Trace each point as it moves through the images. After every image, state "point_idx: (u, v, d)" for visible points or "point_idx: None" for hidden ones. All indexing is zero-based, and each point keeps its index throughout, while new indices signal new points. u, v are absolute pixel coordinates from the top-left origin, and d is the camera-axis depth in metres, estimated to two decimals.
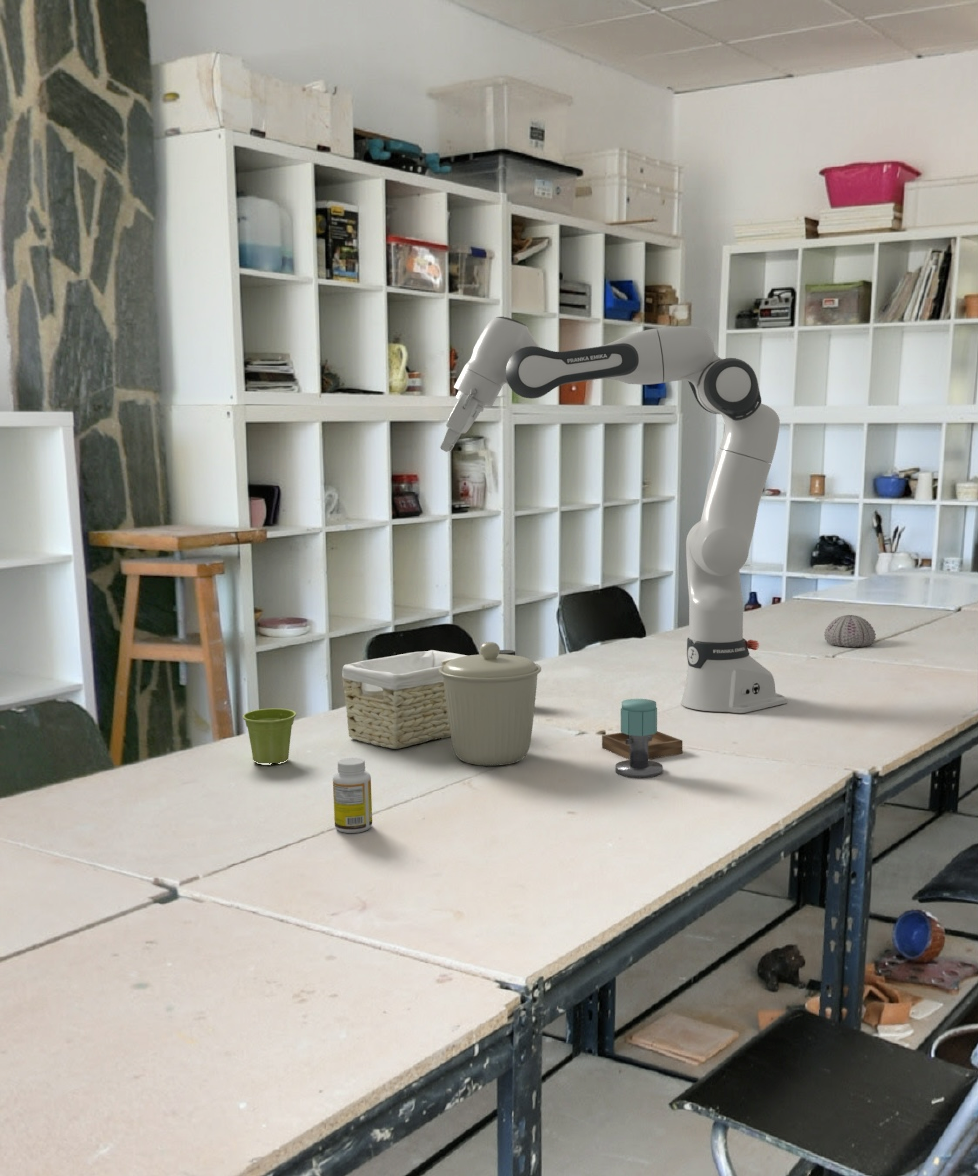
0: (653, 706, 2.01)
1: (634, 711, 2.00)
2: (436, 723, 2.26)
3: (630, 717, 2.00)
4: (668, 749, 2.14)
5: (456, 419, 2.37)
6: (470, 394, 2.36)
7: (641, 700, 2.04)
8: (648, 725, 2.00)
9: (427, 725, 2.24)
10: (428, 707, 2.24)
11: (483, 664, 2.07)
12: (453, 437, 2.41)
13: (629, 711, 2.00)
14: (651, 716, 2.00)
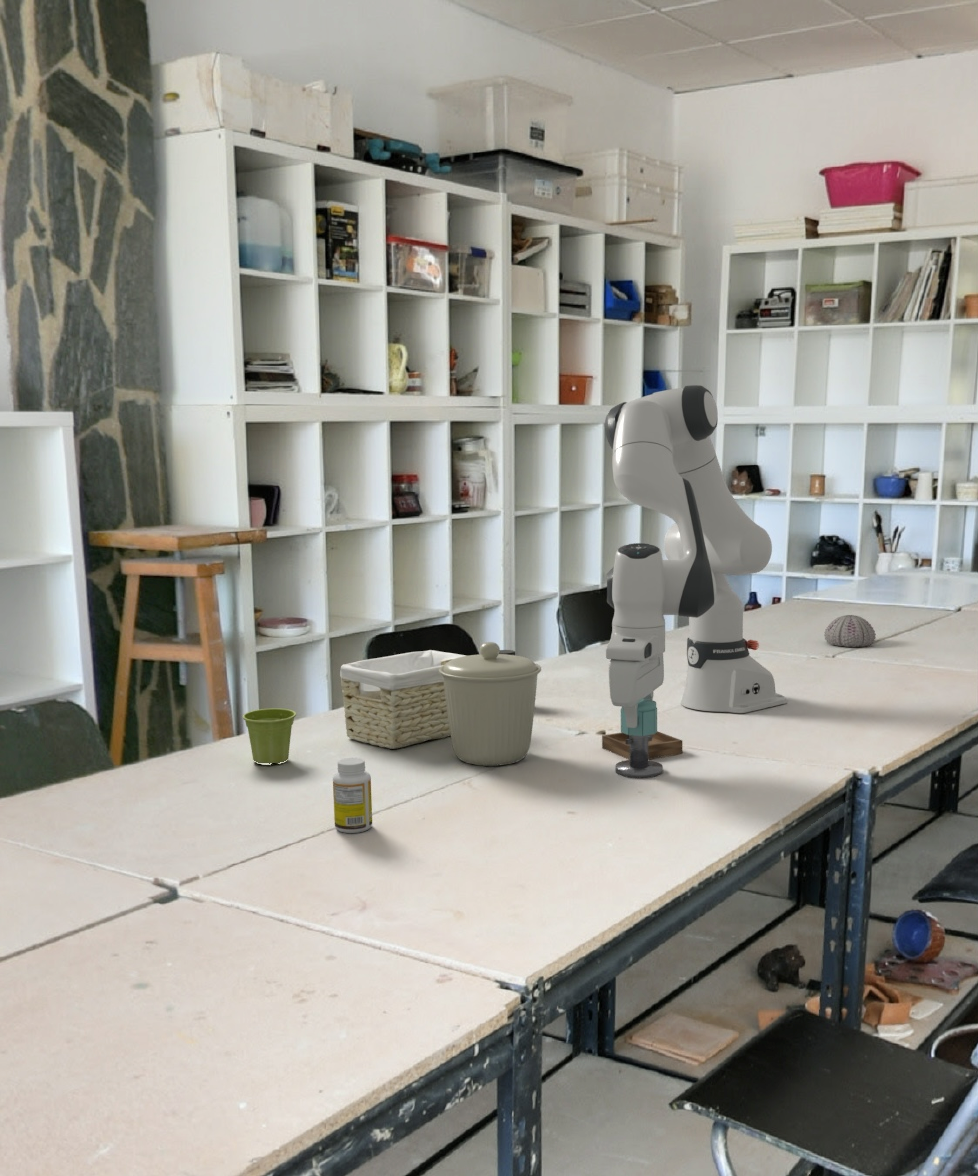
0: (653, 706, 2.01)
1: None
2: (434, 723, 2.26)
3: None
4: (668, 749, 2.14)
5: None
6: None
7: (641, 700, 2.04)
8: (648, 725, 2.00)
9: (425, 725, 2.24)
10: (426, 707, 2.24)
11: (483, 664, 2.07)
12: None
13: None
14: (651, 716, 2.00)
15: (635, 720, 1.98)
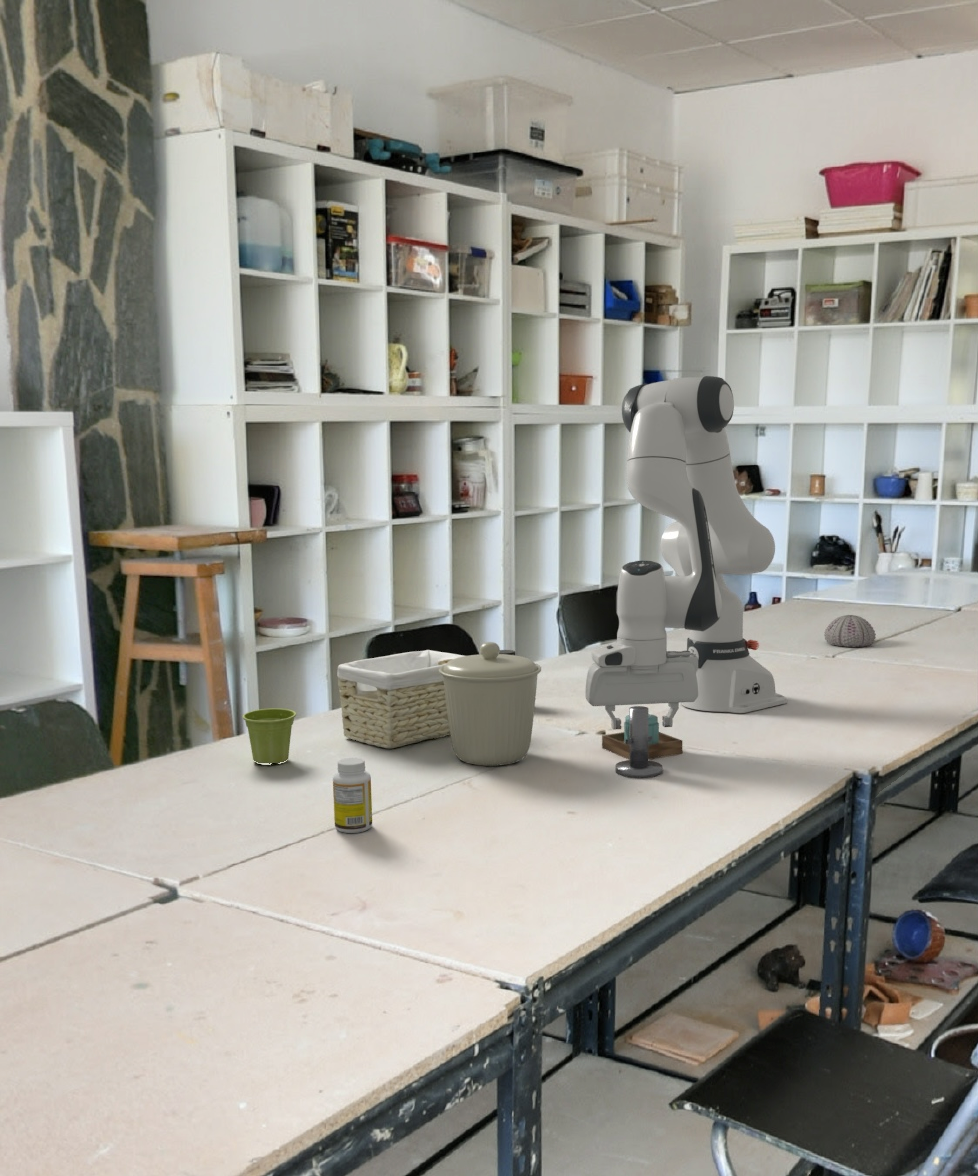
0: None
1: (625, 723, 2.16)
2: (431, 723, 2.26)
3: (624, 728, 2.17)
4: (668, 749, 2.14)
5: None
6: (697, 657, 2.16)
7: (650, 717, 2.17)
8: None
9: (422, 725, 2.25)
10: (422, 707, 2.24)
11: (483, 664, 2.07)
12: None
13: (625, 722, 2.17)
14: None
15: (613, 722, 2.15)
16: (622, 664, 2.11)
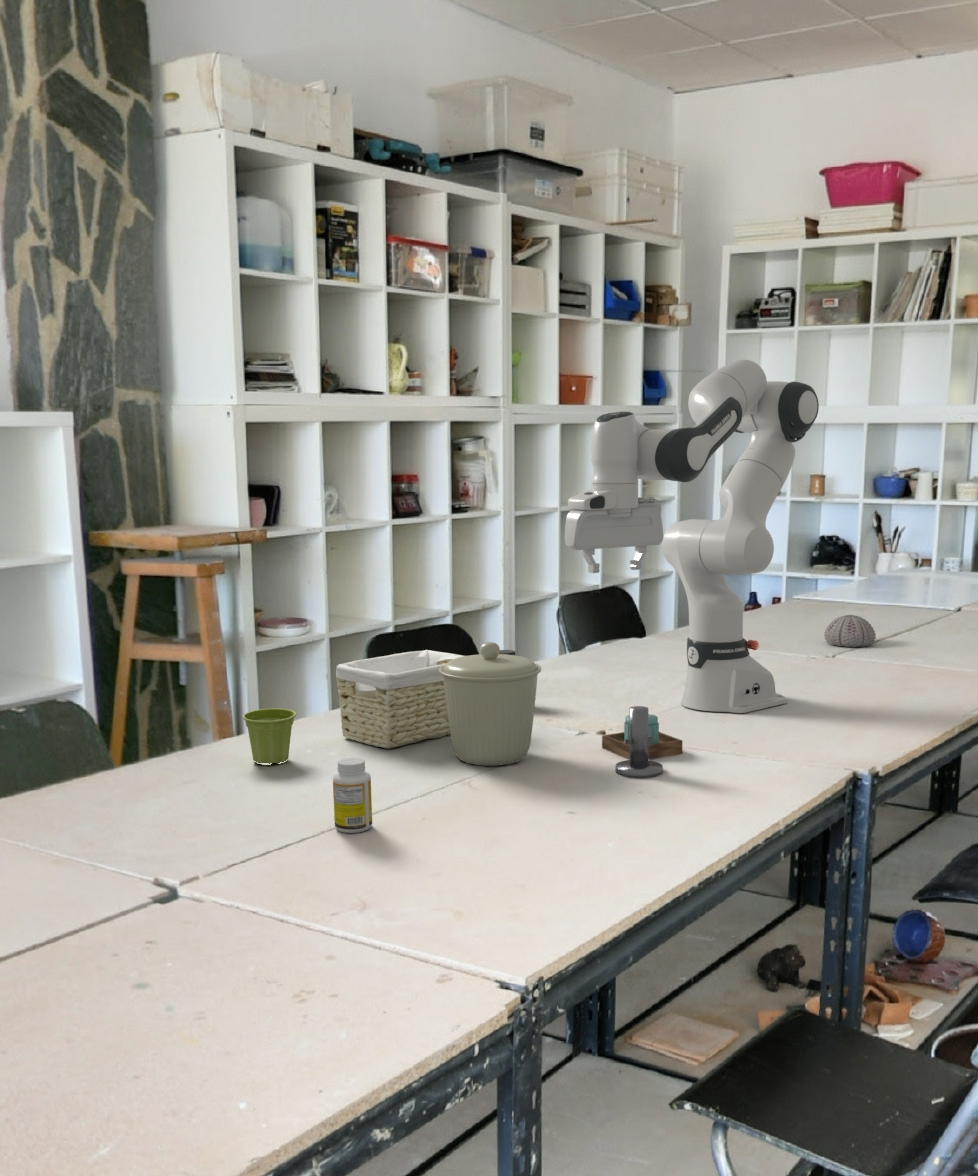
0: None
1: (625, 723, 2.16)
2: (430, 723, 2.26)
3: (624, 728, 2.17)
4: (668, 749, 2.14)
5: None
6: None
7: (650, 717, 2.17)
8: None
9: (420, 725, 2.25)
10: (421, 707, 2.24)
11: (483, 664, 2.07)
12: None
13: (625, 722, 2.17)
14: None
15: (592, 566, 2.25)
16: (604, 507, 2.22)
